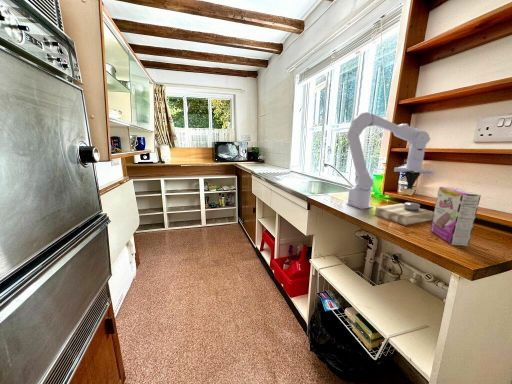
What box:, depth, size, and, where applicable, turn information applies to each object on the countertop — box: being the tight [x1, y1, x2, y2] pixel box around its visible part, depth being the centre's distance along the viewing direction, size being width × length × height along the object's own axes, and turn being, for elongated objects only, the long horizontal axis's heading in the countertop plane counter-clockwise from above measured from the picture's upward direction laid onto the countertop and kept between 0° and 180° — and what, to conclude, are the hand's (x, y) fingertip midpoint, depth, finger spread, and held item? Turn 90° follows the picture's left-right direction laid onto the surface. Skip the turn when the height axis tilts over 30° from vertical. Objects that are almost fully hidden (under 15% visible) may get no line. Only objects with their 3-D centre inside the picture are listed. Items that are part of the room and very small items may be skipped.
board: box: [374, 203, 434, 226], centre depth 90 cm, size 13×17×4 cm
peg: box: [403, 201, 421, 212], centre depth 89 cm, size 5×5×6 cm
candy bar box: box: [429, 186, 482, 247], centre depth 68 cm, size 11×5×16 cm, turn 168°
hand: (409, 188), depth 98 cm, fingers closed
